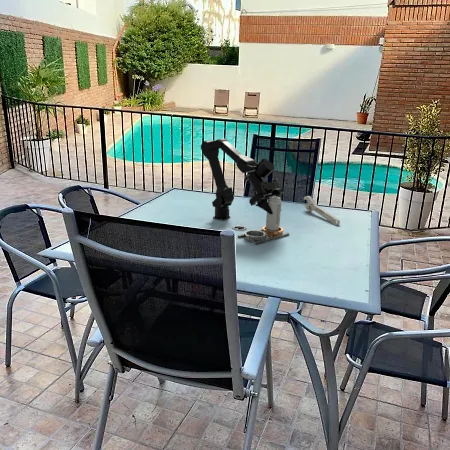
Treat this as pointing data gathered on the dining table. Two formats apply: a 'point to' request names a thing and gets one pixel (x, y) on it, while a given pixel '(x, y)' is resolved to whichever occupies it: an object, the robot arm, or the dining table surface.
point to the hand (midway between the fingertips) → (276, 212)
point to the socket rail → (262, 235)
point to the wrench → (320, 211)
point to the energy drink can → (274, 218)
